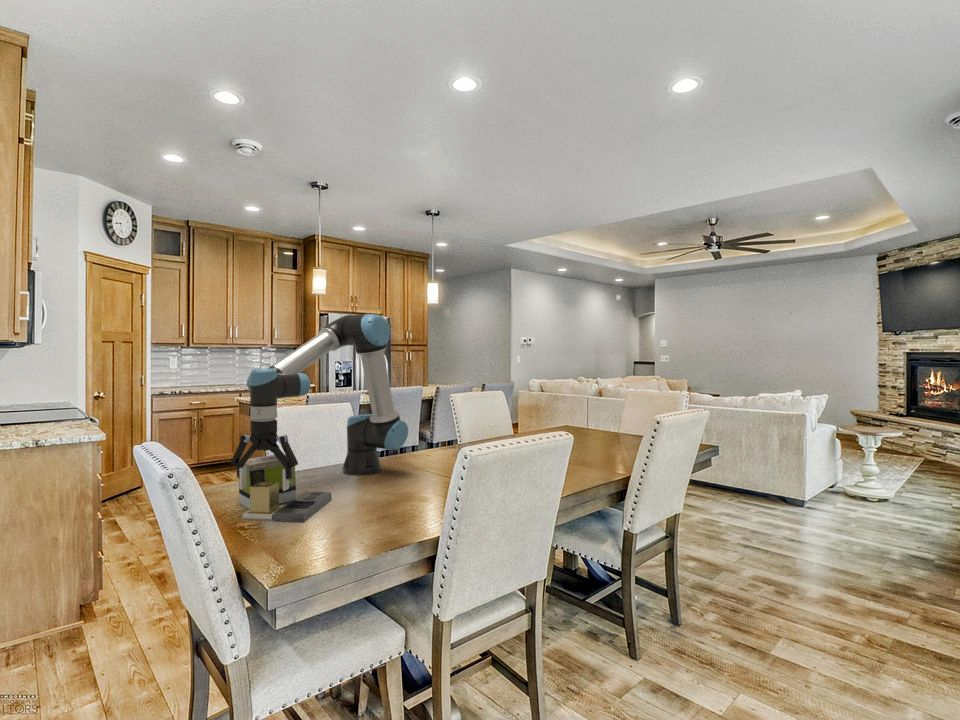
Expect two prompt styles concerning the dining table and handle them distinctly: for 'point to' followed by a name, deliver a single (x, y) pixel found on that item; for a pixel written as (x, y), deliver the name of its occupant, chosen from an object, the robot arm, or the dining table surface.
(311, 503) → the rail
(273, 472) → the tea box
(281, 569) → the dining table surface
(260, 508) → the brass rectangular block
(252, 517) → the tray
